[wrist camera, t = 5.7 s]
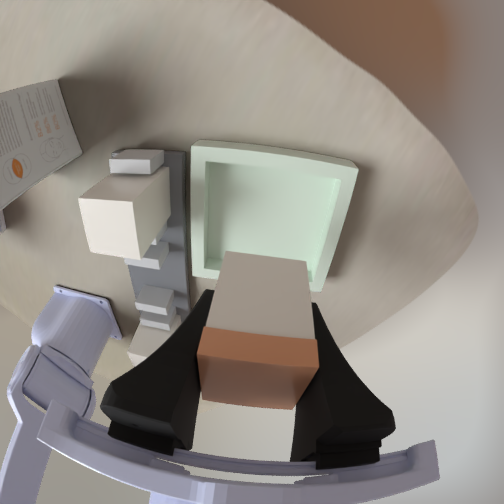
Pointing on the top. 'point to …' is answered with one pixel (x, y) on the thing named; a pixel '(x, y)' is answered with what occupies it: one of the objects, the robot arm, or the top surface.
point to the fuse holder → (160, 243)
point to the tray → (267, 205)
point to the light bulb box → (2, 222)
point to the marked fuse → (258, 333)
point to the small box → (33, 137)
